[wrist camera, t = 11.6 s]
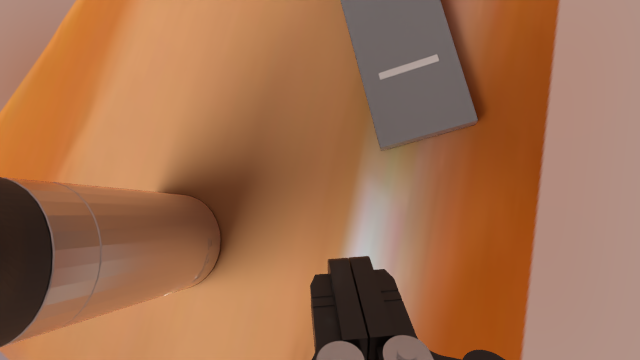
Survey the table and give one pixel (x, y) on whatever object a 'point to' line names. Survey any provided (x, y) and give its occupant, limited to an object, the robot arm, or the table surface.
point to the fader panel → (408, 69)
